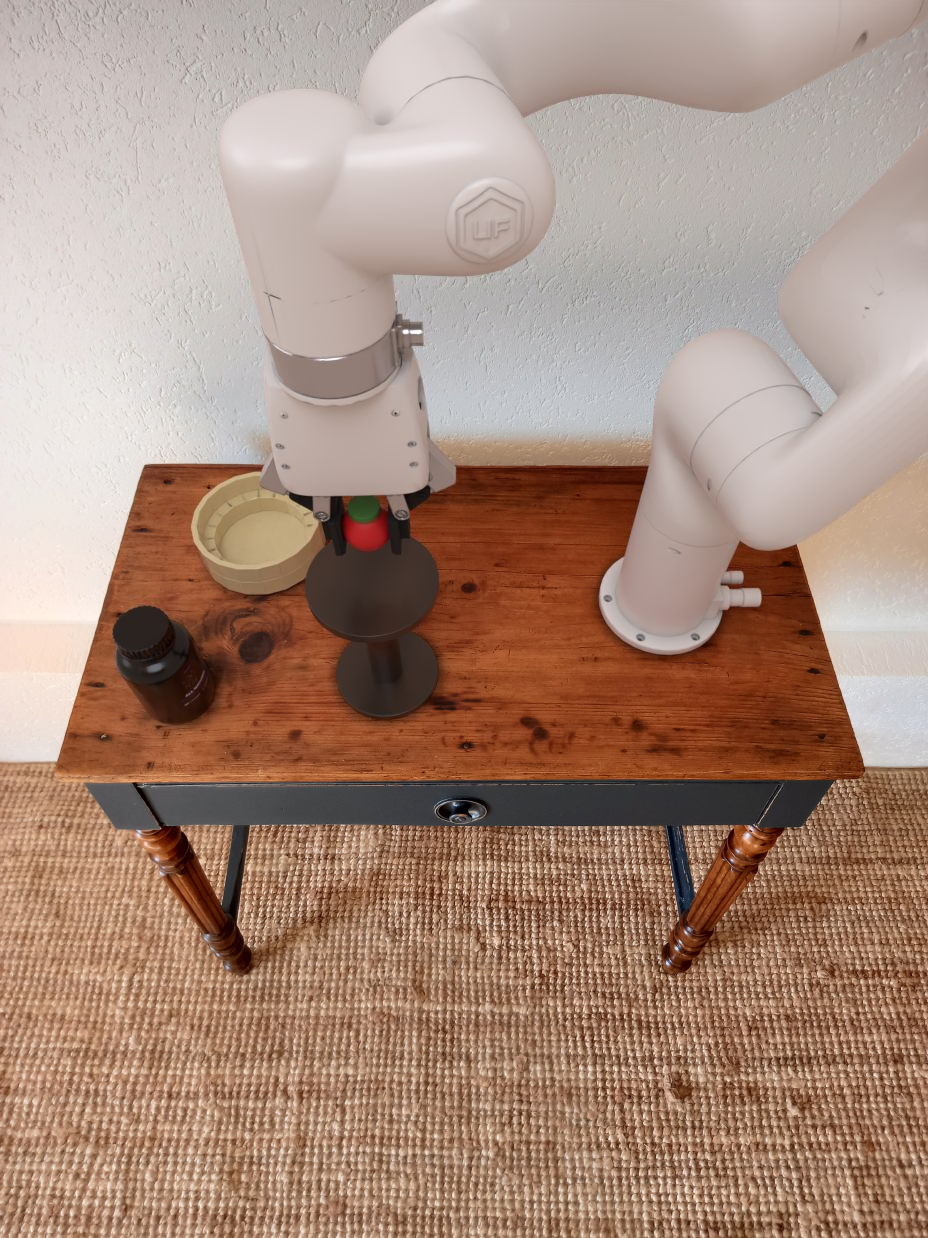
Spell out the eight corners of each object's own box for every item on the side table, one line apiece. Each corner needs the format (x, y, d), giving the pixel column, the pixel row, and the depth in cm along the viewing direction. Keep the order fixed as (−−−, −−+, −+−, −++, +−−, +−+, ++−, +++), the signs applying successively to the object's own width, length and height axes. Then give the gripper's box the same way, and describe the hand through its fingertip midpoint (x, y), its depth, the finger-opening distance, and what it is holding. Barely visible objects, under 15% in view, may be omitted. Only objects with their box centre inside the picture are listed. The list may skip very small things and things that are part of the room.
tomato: (395, 521, 63) (390, 485, 59) (394, 560, 61) (388, 525, 57) (347, 522, 63) (339, 486, 59) (343, 561, 61) (335, 526, 57)
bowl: (330, 501, 91) (324, 470, 87) (320, 596, 84) (313, 568, 80) (214, 502, 91) (202, 471, 87) (195, 598, 84) (181, 569, 80)
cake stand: (443, 626, 82) (439, 526, 69) (443, 724, 76) (438, 636, 63) (336, 627, 82) (311, 528, 69) (327, 725, 76) (298, 637, 63)
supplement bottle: (218, 718, 76) (181, 655, 66) (145, 733, 76) (96, 670, 66) (215, 658, 80) (179, 589, 70) (145, 671, 79) (99, 603, 69)
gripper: (476, 298, 48) (476, 501, 64) (201, 304, 48) (268, 505, 64) (479, 384, 44) (479, 578, 60) (178, 390, 44) (256, 582, 60)
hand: (369, 539), depth 61 cm, fingers closed on tomato, 3 cm apart
